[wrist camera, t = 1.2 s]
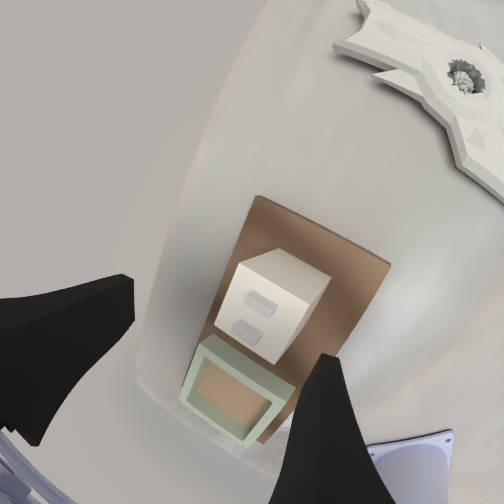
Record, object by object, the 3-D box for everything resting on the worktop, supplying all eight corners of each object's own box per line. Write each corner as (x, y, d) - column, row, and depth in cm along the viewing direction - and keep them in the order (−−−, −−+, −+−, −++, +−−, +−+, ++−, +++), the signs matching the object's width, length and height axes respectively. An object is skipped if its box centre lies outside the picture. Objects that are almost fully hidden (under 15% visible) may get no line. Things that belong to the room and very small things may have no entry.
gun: (305, 79, 14) (358, -20, 11) (316, 99, 17) (362, 6, 14) (551, 236, 9) (576, 114, 6) (527, 231, 12) (555, 123, 9)
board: (267, 438, 23) (263, 444, 22) (187, 382, 26) (181, 386, 25) (390, 263, 17) (390, 266, 16) (261, 196, 20) (255, 195, 19)
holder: (256, 436, 22) (246, 449, 21) (190, 390, 25) (177, 400, 23) (295, 387, 20) (286, 402, 18) (213, 333, 22) (199, 342, 21)
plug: (304, 326, 19) (268, 372, 13) (256, 297, 20) (205, 329, 14) (331, 277, 17) (304, 310, 12) (279, 248, 19) (230, 265, 13)
